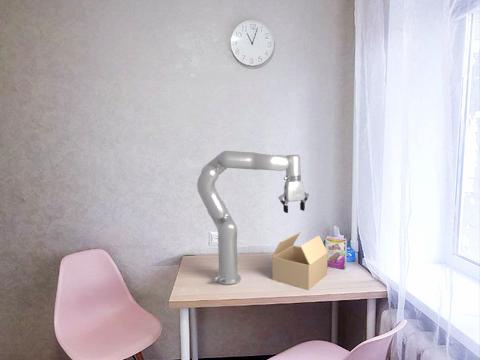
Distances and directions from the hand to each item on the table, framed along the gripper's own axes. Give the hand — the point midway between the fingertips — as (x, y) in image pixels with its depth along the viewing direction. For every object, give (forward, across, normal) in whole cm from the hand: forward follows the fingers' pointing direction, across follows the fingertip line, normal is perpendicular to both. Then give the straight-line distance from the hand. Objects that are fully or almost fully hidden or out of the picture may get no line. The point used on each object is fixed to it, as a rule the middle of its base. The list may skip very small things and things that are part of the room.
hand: (294, 211), depth 162 cm
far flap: (+17, -4, +2) cm, 18 cm away
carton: (+34, 0, -5) cm, 34 cm away
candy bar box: (+35, +25, 0) cm, 43 cm away
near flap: (+18, +4, -11) cm, 21 cm away
